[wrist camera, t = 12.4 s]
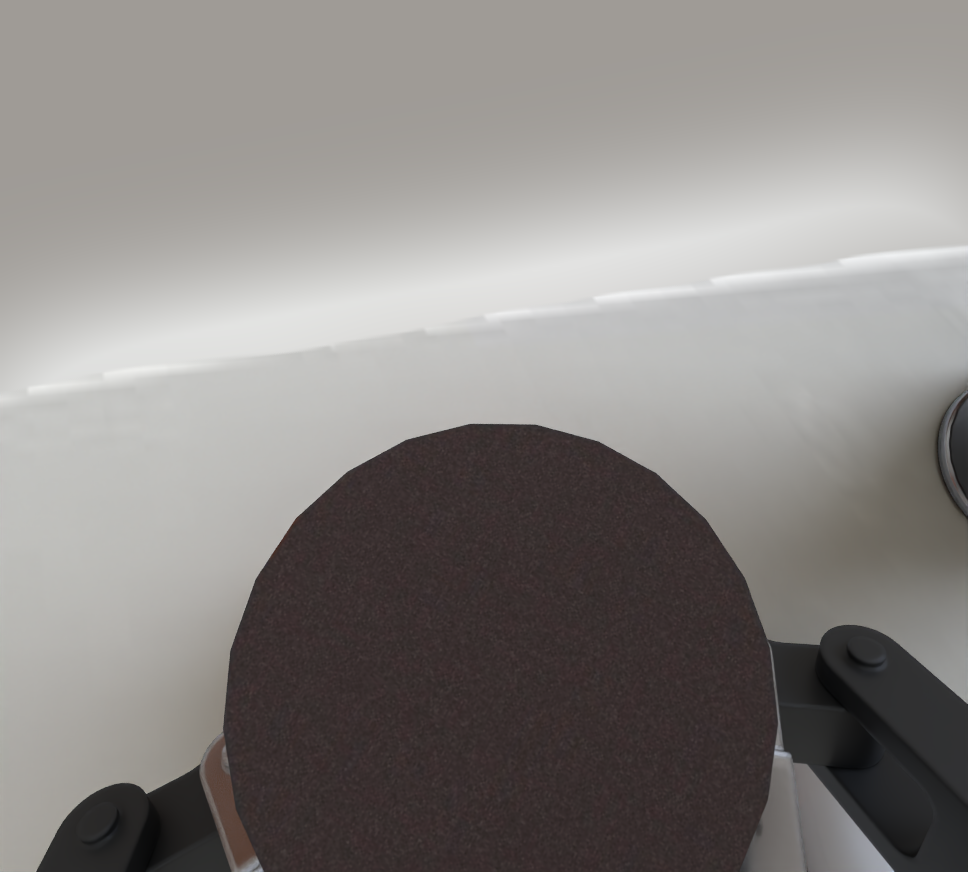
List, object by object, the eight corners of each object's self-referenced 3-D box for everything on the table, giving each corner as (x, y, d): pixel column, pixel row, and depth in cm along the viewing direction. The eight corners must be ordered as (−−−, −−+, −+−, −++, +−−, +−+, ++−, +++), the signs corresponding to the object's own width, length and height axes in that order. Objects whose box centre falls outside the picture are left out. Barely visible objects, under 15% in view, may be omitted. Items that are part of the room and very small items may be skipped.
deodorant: (373, 554, 22) (215, 454, 7) (544, 532, 22) (710, 396, 8) (390, 741, 20) (233, 1073, 6) (572, 713, 21) (842, 958, 6)
